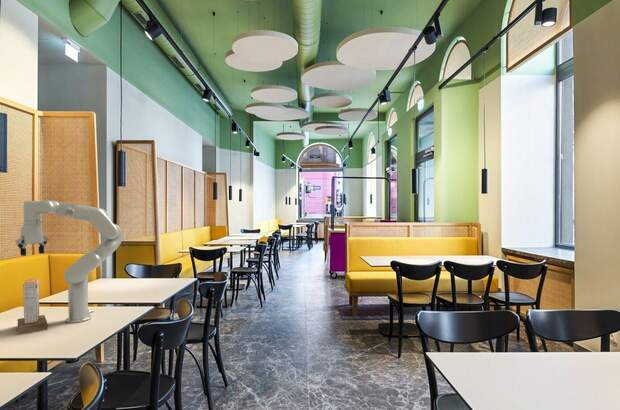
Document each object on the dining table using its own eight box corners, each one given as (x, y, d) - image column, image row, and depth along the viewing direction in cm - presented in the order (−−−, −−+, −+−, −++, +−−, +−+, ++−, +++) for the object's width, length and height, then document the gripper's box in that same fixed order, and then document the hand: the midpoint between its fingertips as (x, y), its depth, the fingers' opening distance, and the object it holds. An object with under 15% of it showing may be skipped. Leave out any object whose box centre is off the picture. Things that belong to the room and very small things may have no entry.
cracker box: (26, 318, 211) (25, 279, 211) (39, 316, 214) (39, 278, 214) (23, 324, 199) (22, 283, 199) (37, 322, 202) (36, 282, 202)
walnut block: (17, 326, 210) (17, 318, 210) (44, 321, 217) (44, 314, 217) (18, 334, 196) (18, 326, 196) (47, 329, 203) (47, 321, 203)
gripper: (42, 222, 223) (43, 252, 223) (10, 224, 206) (11, 256, 206) (52, 222, 220) (52, 252, 220) (20, 224, 204) (20, 256, 204)
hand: (32, 254), depth 213 cm, fingers open, 9 cm apart
